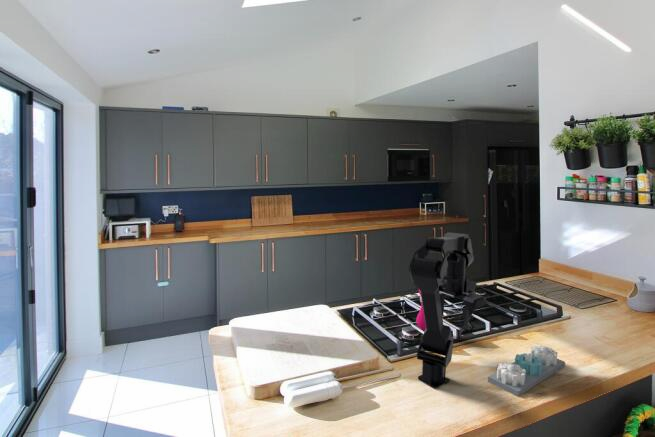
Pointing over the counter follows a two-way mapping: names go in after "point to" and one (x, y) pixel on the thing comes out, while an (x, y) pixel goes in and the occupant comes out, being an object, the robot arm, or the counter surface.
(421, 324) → the pepper mill
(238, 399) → the counter surface
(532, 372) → the teal gear
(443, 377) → the robot arm
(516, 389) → the gear board
